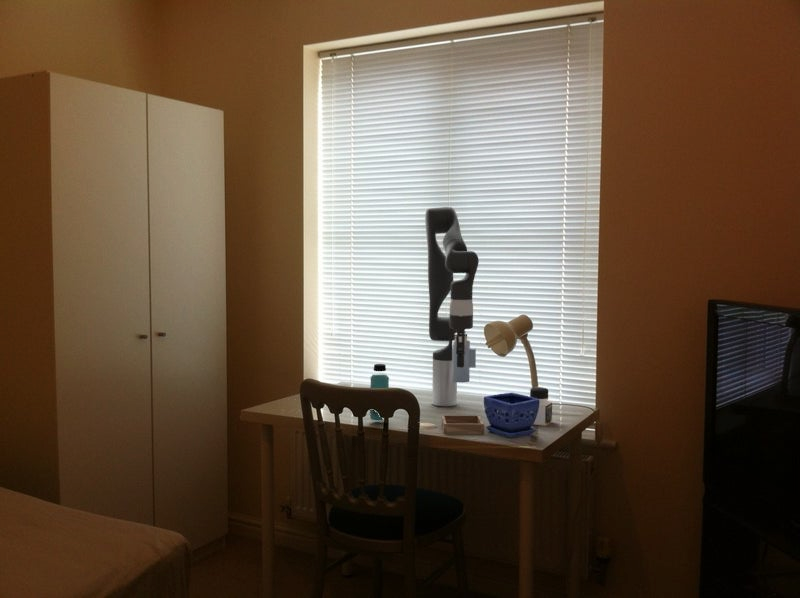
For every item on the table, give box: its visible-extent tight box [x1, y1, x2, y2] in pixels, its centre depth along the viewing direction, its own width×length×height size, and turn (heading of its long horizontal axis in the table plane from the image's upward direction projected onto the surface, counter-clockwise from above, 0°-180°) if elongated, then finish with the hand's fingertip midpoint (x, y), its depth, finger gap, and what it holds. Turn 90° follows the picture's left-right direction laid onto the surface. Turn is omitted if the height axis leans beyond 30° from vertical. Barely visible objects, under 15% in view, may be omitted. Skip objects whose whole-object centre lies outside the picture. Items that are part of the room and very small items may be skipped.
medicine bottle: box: [529, 386, 553, 427], centre depth 246 cm, size 7×7×12 cm
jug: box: [452, 339, 477, 383], centre depth 234 cm, size 6×8×13 cm
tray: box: [441, 414, 485, 435], centre depth 235 cm, size 13×13×4 cm
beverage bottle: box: [369, 363, 390, 422], centre depth 244 cm, size 6×7×20 cm
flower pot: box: [483, 392, 540, 439], centre depth 230 cm, size 13×13×12 cm
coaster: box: [406, 422, 438, 431], centre depth 238 cm, size 10×10×1 cm
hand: (460, 365), depth 234 cm, fingers closed on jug, 5 cm apart
